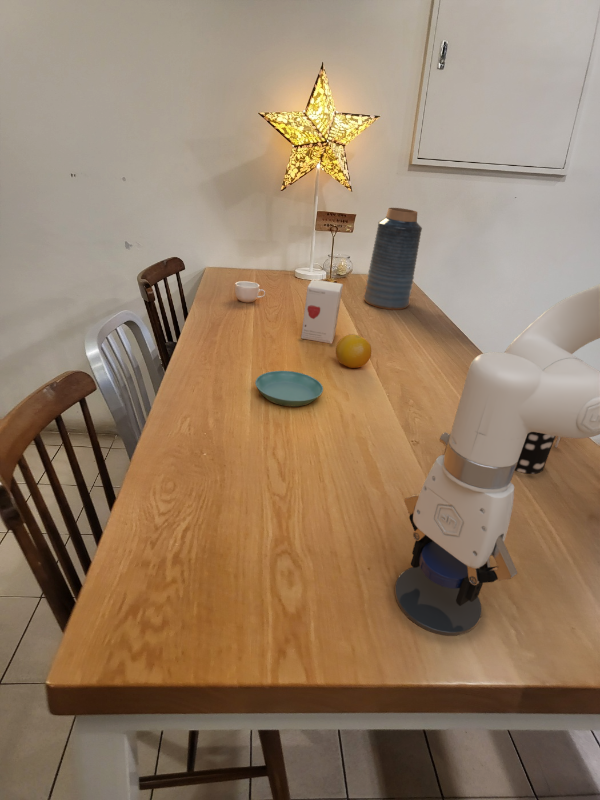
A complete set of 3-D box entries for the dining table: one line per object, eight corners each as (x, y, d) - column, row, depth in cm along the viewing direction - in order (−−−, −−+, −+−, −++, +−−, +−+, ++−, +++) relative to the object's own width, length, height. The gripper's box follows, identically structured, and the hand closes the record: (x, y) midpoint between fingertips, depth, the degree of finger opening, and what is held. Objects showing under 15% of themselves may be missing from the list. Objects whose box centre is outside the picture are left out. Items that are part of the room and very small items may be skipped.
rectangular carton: (300, 339, 150) (306, 286, 143) (305, 328, 158) (311, 278, 151) (332, 344, 149) (339, 291, 142) (336, 333, 157) (343, 283, 150)
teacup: (231, 302, 173) (232, 285, 171) (237, 295, 180) (238, 279, 177) (262, 306, 172) (263, 290, 170) (266, 300, 179) (268, 284, 177)
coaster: (472, 576, 74) (473, 572, 74) (488, 643, 64) (489, 639, 64) (393, 562, 75) (394, 559, 75) (396, 626, 65) (397, 623, 65)
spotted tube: (498, 445, 108) (528, 352, 99) (542, 456, 106) (576, 362, 97) (497, 466, 101) (529, 368, 92) (544, 478, 98) (582, 379, 90)
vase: (402, 298, 199) (420, 209, 185) (413, 312, 185) (434, 216, 170) (359, 294, 197) (374, 204, 183) (367, 308, 183) (383, 211, 169)
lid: (421, 583, 64) (424, 573, 64) (417, 546, 70) (419, 536, 69) (476, 593, 64) (479, 583, 63) (467, 554, 70) (470, 545, 69)
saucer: (294, 419, 108) (295, 407, 107) (240, 393, 116) (240, 382, 115) (334, 397, 119) (336, 386, 118) (283, 375, 127) (284, 365, 126)
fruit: (353, 357, 142) (358, 328, 138) (374, 369, 136) (380, 339, 133) (327, 362, 137) (331, 332, 133) (348, 374, 131) (353, 344, 128)
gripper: (398, 434, 64) (372, 550, 72) (530, 517, 52) (481, 644, 60) (439, 420, 68) (410, 530, 76) (568, 494, 56) (518, 615, 64)
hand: (442, 579), depth 68 cm, fingers closed on lid, 6 cm apart
